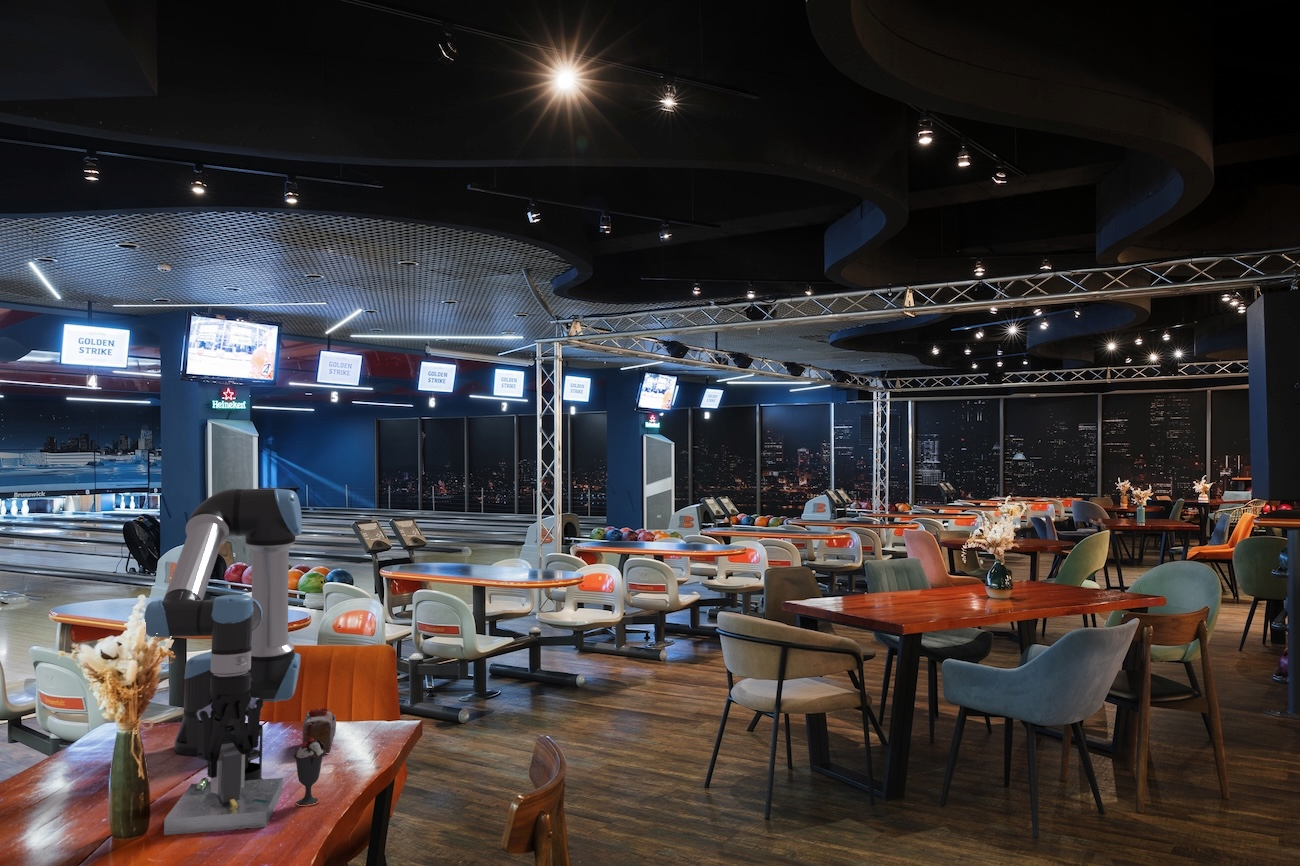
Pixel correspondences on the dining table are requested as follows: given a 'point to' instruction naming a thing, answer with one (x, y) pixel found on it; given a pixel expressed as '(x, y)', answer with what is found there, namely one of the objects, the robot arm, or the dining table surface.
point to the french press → (253, 768)
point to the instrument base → (223, 808)
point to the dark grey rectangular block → (230, 774)
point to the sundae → (309, 766)
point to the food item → (320, 727)
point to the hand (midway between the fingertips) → (227, 789)
